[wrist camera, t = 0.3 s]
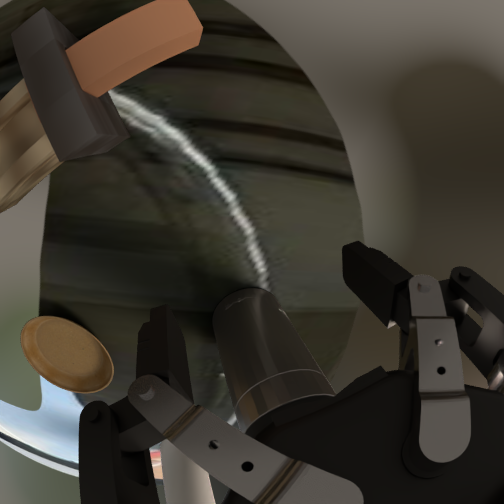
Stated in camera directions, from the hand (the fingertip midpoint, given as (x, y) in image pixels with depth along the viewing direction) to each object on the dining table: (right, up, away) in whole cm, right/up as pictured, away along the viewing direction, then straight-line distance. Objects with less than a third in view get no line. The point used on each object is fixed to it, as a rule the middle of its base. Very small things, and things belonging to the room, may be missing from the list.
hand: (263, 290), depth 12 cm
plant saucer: (-27, -12, +19) cm, 35 cm away
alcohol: (-15, -37, +33) cm, 52 cm away
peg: (-11, +17, +4) cm, 21 cm away
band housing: (-22, +14, +9) cm, 28 cm away
